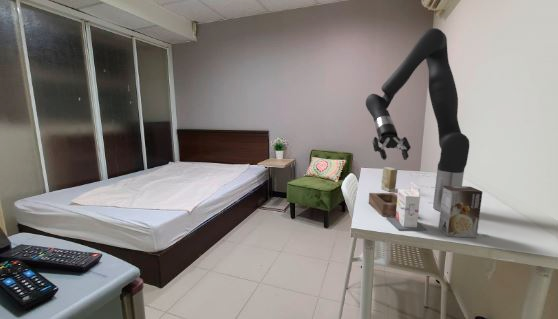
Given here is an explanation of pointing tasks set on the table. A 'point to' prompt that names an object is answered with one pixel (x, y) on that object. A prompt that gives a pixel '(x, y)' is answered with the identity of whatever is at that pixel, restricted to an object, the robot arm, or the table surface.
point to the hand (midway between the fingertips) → (395, 158)
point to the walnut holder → (384, 203)
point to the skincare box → (389, 179)
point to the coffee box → (460, 211)
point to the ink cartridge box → (408, 206)
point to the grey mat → (399, 227)
